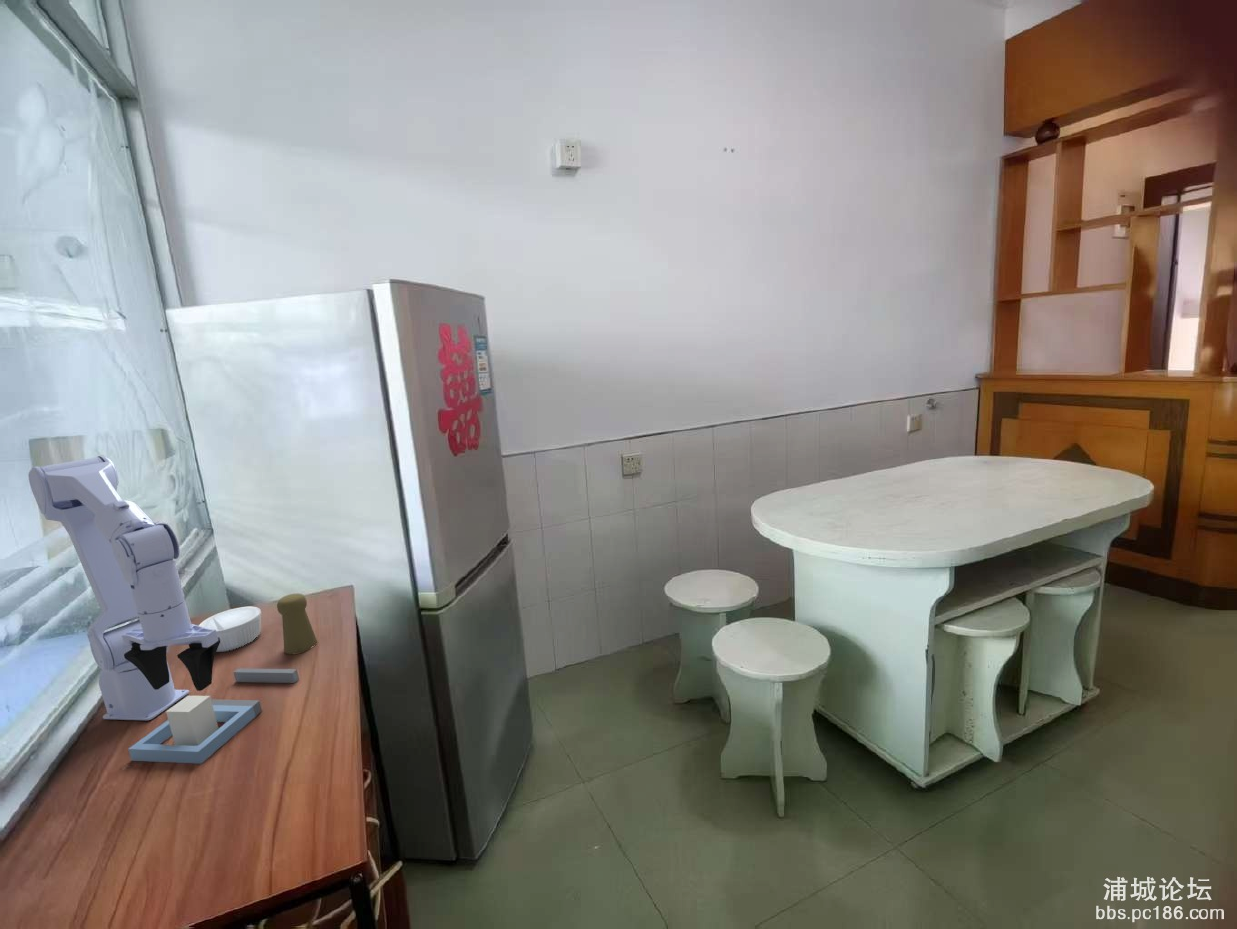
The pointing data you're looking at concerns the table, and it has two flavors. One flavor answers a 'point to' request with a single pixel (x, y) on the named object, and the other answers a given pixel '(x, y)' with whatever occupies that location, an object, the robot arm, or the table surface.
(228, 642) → the ramekin
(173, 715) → the cream white block
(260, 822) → the table surface
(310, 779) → the table surface
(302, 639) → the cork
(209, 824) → the table surface
